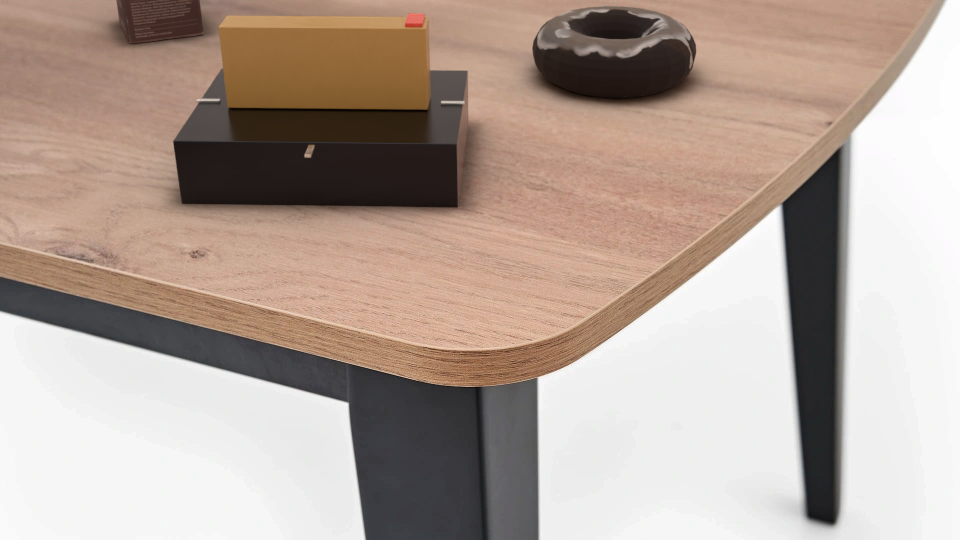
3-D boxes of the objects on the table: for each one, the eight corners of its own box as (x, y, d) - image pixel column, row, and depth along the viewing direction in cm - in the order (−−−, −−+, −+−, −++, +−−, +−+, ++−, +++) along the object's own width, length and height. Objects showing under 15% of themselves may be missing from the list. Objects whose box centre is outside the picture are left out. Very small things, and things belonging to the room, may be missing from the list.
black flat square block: (170, 221, 68) (160, 153, 66) (233, 113, 82) (226, 55, 80) (457, 225, 68) (456, 156, 66) (471, 116, 82) (470, 57, 80)
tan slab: (227, 108, 72) (217, 22, 70) (235, 94, 74) (226, 11, 72) (428, 110, 72) (425, 24, 69) (430, 96, 74) (428, 12, 71)
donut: (604, 119, 81) (607, 61, 79) (500, 70, 89) (500, 18, 87) (728, 82, 87) (733, 28, 85) (619, 40, 95) (621, -10, 93)
